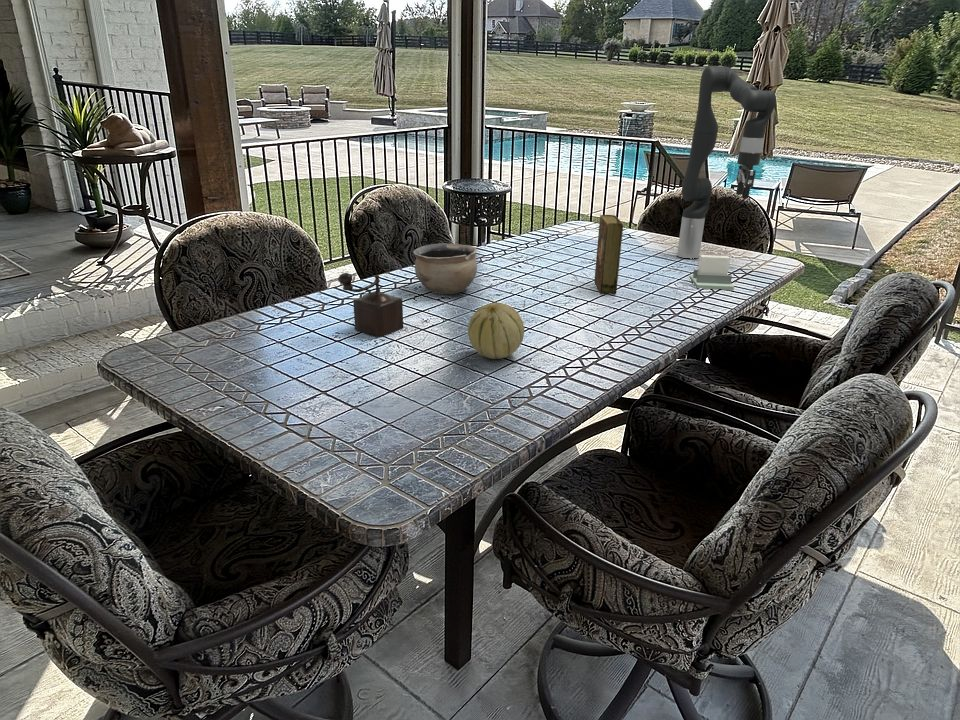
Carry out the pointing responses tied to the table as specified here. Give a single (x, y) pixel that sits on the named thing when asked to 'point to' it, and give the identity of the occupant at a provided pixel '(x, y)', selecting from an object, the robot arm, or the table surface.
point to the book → (608, 254)
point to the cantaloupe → (496, 330)
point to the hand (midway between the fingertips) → (741, 196)
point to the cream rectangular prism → (713, 265)
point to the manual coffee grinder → (375, 309)
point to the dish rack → (711, 281)
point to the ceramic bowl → (445, 267)
